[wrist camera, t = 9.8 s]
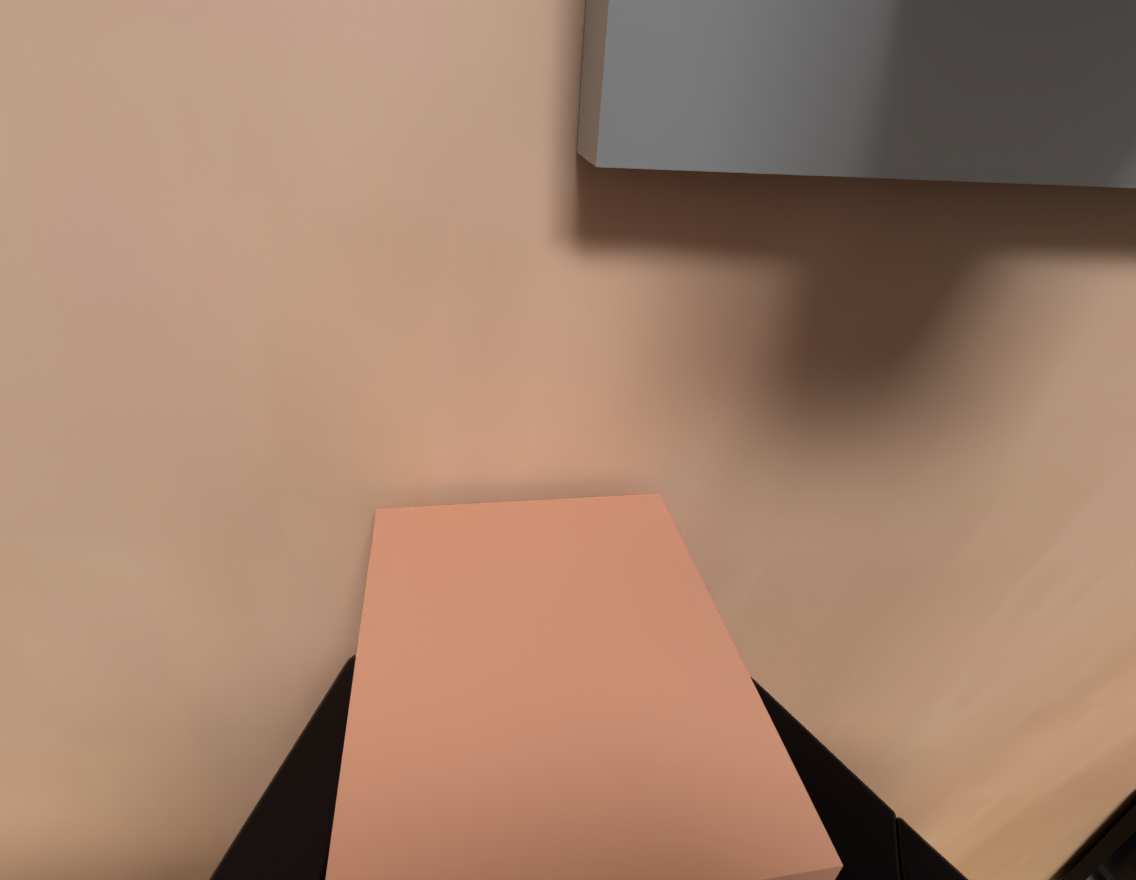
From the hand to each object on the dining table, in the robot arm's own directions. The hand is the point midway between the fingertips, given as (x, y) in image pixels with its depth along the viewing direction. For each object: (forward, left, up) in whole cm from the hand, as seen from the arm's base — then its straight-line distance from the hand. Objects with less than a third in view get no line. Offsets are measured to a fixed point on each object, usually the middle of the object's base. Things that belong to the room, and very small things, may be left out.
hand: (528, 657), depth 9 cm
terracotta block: (0, 0, -1) cm, 1 cm away
